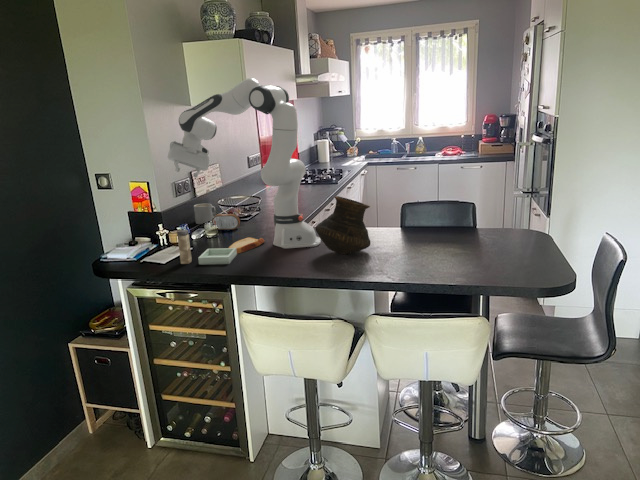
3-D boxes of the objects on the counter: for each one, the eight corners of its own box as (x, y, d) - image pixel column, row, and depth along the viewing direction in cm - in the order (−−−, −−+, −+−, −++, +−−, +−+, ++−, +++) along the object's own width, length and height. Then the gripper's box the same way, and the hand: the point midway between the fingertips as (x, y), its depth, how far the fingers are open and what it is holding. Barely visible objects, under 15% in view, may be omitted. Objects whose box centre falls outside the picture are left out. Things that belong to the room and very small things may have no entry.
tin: (241, 228, 261) (239, 213, 259) (239, 229, 258) (238, 214, 256) (214, 228, 263) (212, 213, 261) (212, 230, 260) (210, 215, 258)
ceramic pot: (304, 255, 209) (301, 198, 202) (342, 243, 224) (341, 189, 217) (344, 266, 192) (342, 204, 185) (382, 252, 207) (382, 195, 200)
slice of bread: (229, 255, 215) (228, 247, 214) (226, 245, 232) (225, 237, 231) (269, 250, 219) (268, 242, 218) (263, 241, 236) (262, 233, 235)
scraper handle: (191, 261, 208) (188, 229, 204) (189, 263, 204) (185, 231, 201) (183, 261, 208) (179, 229, 204) (181, 263, 205) (176, 231, 201)
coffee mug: (200, 224, 274) (198, 207, 271) (192, 222, 281) (190, 205, 279) (221, 220, 282) (219, 203, 279) (213, 218, 289) (211, 201, 287)
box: (237, 254, 214) (236, 248, 213) (229, 263, 202) (228, 257, 201) (208, 255, 215) (207, 248, 214) (199, 264, 203) (198, 257, 202)
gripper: (174, 138, 227) (169, 166, 224) (212, 152, 240) (208, 178, 238) (168, 141, 231) (163, 168, 229) (205, 154, 245) (201, 180, 242)
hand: (186, 174), depth 233 cm, fingers open, 8 cm apart
